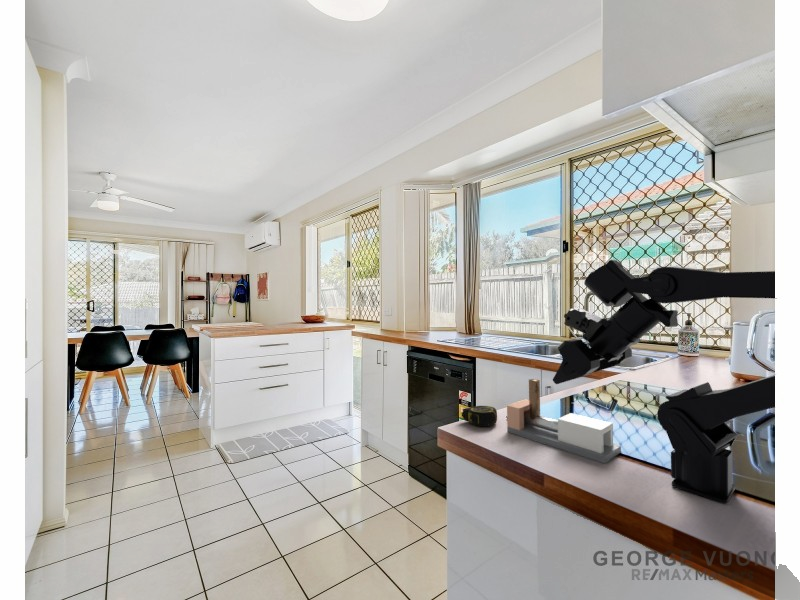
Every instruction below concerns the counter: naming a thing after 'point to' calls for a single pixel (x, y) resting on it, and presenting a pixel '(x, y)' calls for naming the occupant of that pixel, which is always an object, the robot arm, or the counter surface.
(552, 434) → the tube rig
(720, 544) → the counter surface
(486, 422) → the tape measure
